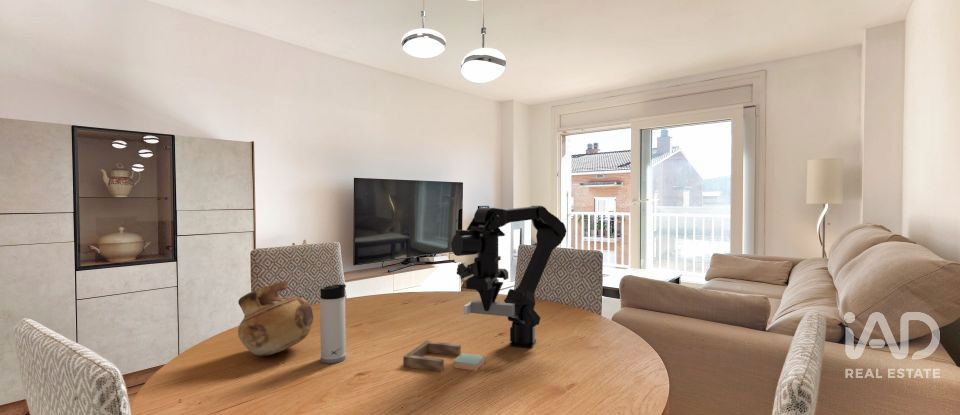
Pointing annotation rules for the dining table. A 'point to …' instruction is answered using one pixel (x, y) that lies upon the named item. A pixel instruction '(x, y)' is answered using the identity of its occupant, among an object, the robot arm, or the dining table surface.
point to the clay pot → (273, 320)
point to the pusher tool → (494, 309)
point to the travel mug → (332, 323)
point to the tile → (469, 361)
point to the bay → (418, 361)
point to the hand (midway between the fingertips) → (488, 309)
